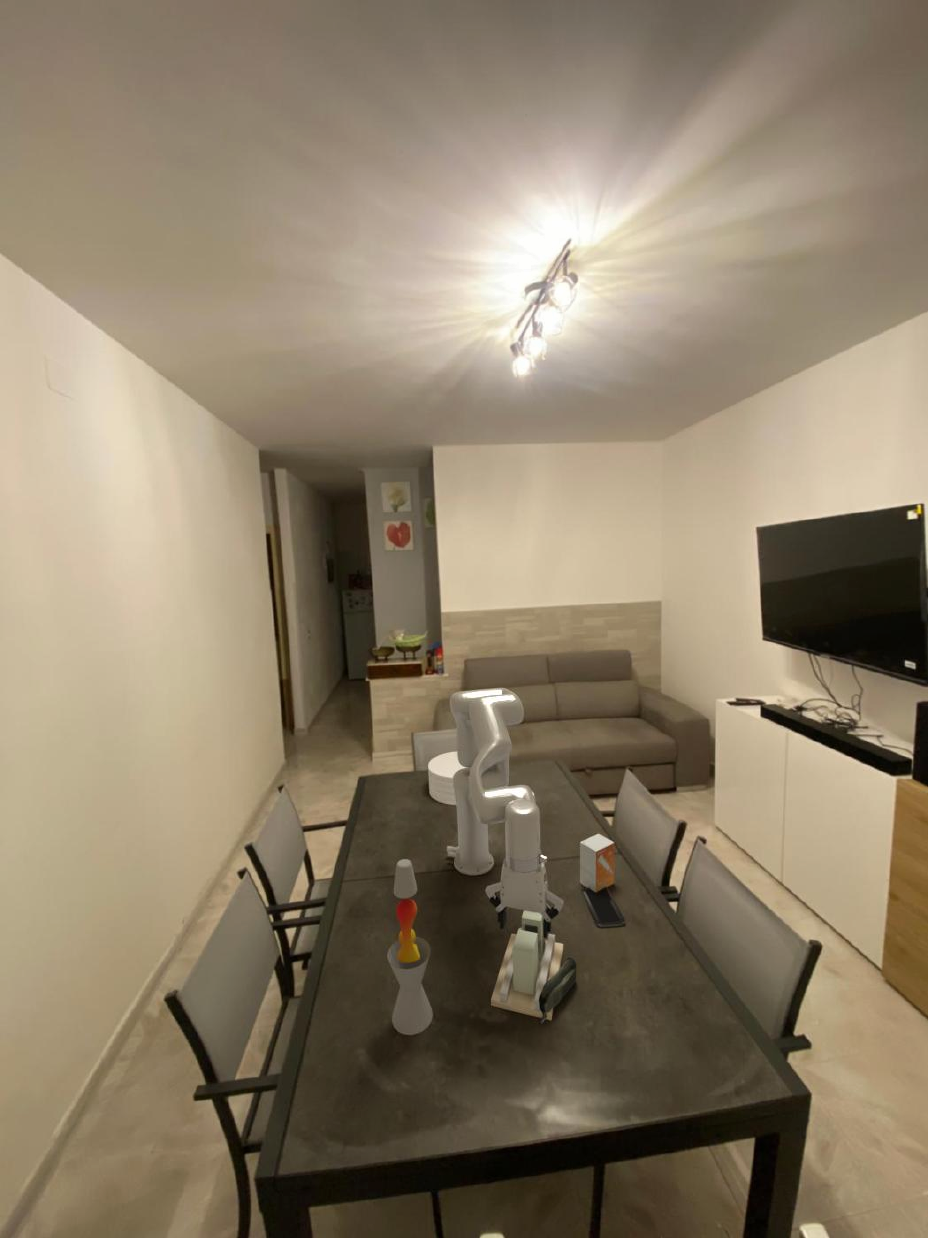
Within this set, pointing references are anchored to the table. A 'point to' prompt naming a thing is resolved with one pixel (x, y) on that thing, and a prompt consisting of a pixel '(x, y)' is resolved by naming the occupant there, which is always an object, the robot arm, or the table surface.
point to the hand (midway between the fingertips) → (524, 929)
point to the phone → (603, 908)
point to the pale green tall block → (525, 962)
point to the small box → (597, 862)
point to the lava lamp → (409, 959)
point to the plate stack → (443, 777)
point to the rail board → (547, 969)
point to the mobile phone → (557, 987)
